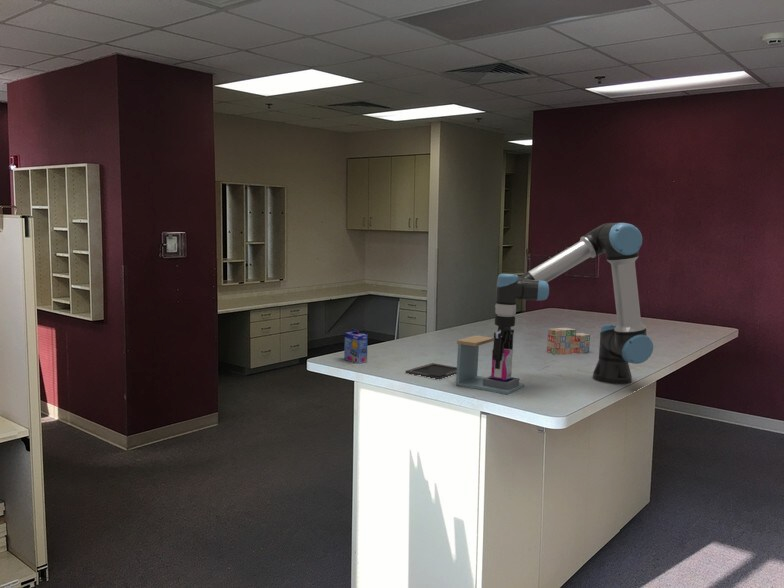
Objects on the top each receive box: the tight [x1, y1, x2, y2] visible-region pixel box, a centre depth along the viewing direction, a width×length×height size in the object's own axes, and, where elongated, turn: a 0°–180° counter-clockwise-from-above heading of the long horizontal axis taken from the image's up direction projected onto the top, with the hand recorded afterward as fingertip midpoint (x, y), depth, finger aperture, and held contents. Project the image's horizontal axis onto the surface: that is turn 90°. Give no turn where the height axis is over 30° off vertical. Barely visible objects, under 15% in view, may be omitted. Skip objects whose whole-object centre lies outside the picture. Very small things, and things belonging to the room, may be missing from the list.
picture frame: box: [405, 362, 457, 380], centre depth 272 cm, size 16×2×21 cm
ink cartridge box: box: [343, 328, 369, 364], centre depth 288 cm, size 10×6×14 cm, turn 44°
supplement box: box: [490, 349, 513, 381], centre depth 250 cm, size 6×6×12 cm
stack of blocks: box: [546, 327, 591, 356], centre depth 328 cm, size 21×6×12 cm, turn 114°
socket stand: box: [455, 335, 525, 395], centre depth 252 cm, size 22×16×17 cm
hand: (501, 375), depth 250 cm, fingers closed on supplement box, 6 cm apart
